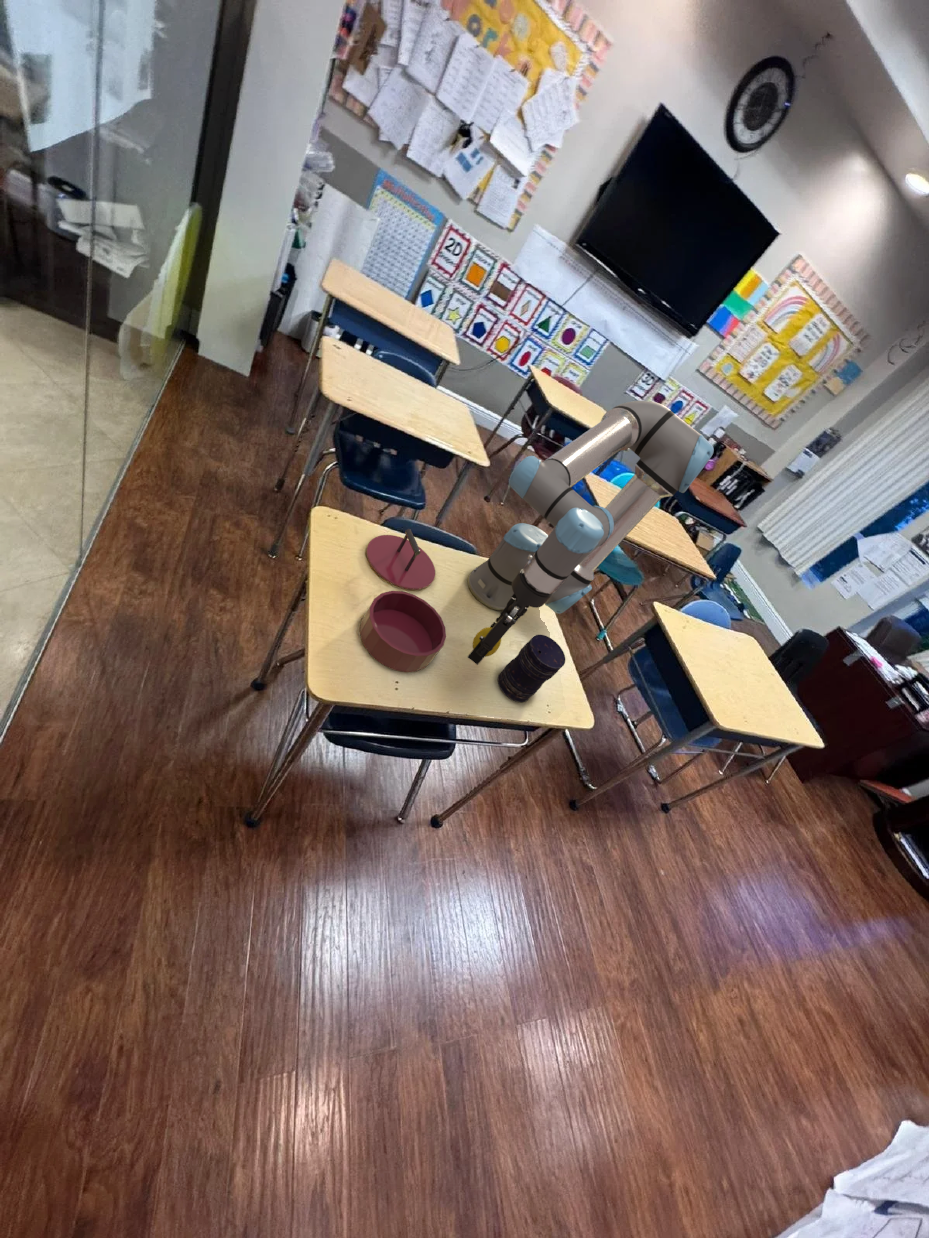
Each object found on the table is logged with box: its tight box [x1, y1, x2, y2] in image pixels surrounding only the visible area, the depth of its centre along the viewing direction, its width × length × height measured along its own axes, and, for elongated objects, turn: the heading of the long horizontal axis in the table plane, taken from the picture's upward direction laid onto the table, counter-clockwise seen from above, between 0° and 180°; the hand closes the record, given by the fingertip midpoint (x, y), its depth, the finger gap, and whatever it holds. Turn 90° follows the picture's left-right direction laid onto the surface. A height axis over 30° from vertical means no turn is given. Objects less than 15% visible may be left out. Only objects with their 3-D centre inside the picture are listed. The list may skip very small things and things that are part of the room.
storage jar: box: [497, 634, 566, 703], centre depth 124 cm, size 10×10×15 cm
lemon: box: [472, 626, 502, 658], centre depth 109 cm, size 6×6×8 cm
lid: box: [366, 528, 436, 591], centre depth 135 cm, size 20×20×9 cm
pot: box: [359, 590, 447, 673], centre depth 118 cm, size 19×19×6 cm
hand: (478, 652), depth 111 cm, fingers closed on lemon, 5 cm apart
